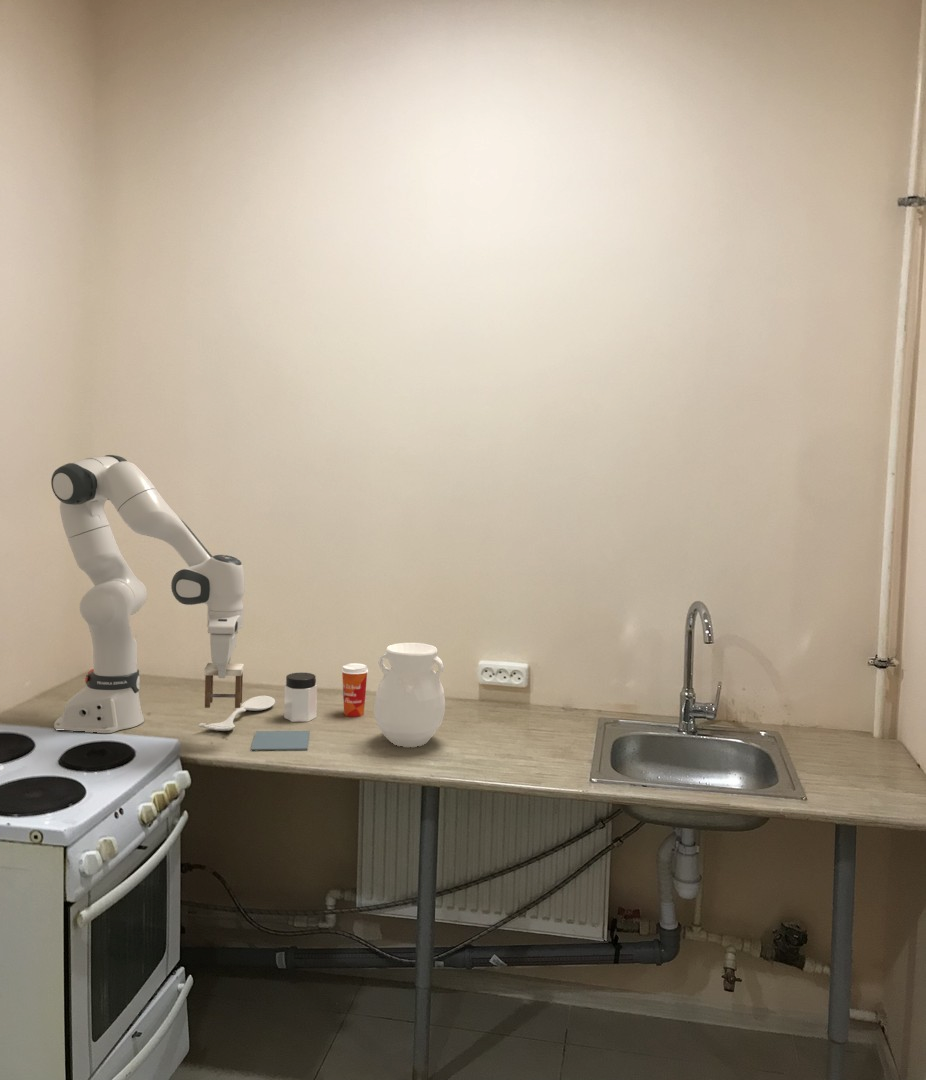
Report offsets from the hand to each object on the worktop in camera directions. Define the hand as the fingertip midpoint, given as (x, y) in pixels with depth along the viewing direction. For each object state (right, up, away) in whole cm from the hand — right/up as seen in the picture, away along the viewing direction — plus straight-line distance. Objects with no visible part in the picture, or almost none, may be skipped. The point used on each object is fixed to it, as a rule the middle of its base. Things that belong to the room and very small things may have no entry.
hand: (224, 673), depth 233 cm
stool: (0, -8, +1) cm, 8 cm away
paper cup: (+29, -16, +30) cm, 45 cm away
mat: (+14, -18, +5) cm, 23 cm away
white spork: (-1, -16, +22) cm, 28 cm away
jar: (+15, -16, +25) cm, 33 cm away
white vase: (+46, -19, +8) cm, 51 cm away
